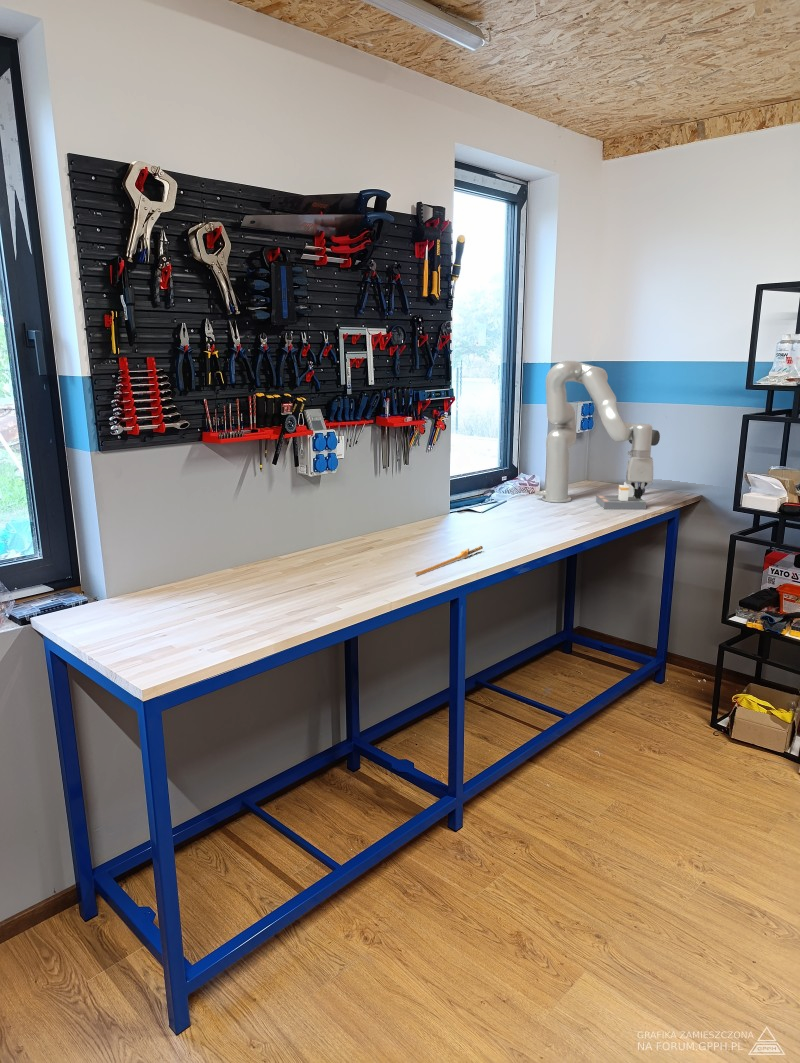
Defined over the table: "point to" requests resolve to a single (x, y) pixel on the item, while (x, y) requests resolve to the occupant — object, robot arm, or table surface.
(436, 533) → the table surface
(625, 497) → the block
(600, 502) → the breaker panel
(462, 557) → the katana
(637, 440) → the robot arm
